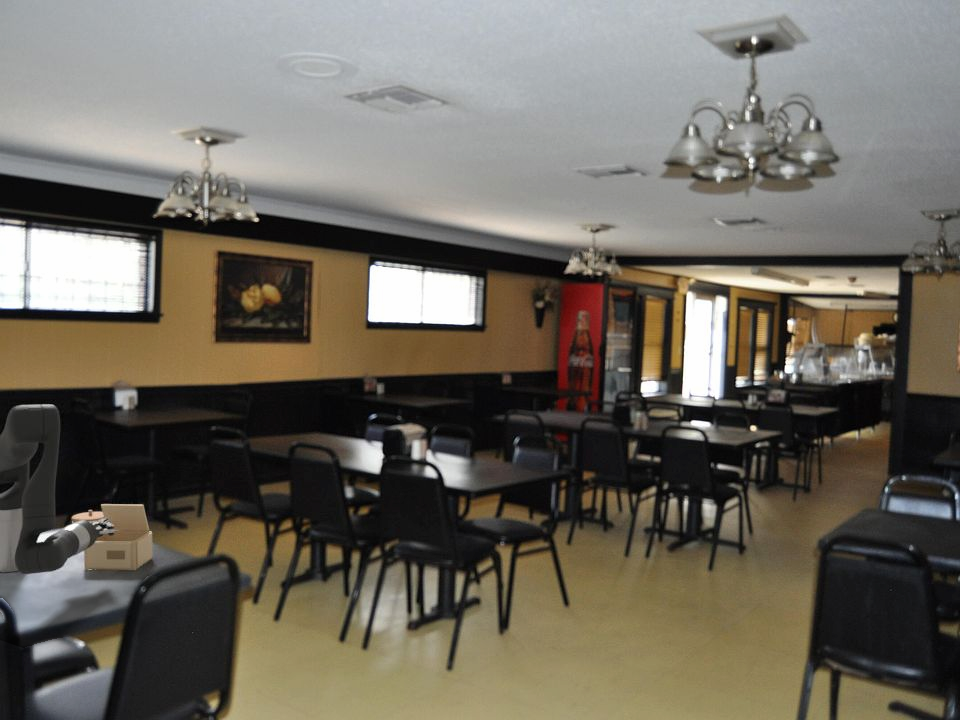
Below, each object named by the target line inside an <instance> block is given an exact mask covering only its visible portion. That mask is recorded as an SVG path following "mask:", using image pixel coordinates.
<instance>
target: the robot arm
mask: <svg viewBox="0 0 960 720" xmlns="http://www.w3.org/2000/svg"><path fill="white" fill-rule="evenodd" d="M60 434H61V417H60V411H59V409H58V408H57V406H56V405H54V404H49V403H48V404H46V403H44V404H20V405H16V406H13V407H12V408H11V409H10V411H9V412H8V414H7V417H6V422H5V425H4V428H3V431H2V433H1V434H0V484H7V483H8V484H9V483H14V484H13V485H12V487H10V488H9V489H8V490H5V491H3V492H2V493H0V573H12V572H19V573H21V574H24V575H31V574H41V573H49V572H54V571H57V570H60V569H62V568H63V567H64V565H65V563H67V561H68V559H70V558H72V557H75V556H77V555H79V554H80V553H83V552H84V550H86V549H87V548H89V547H91V546H92V545H93V544H94V543H95V541H96V539H97V538H98V537H101V536H103V534H105V533H106V535H110V536H113V535H114V531H115V530H114V525H112V524H111V523H110V522H109V520H108V519H105V518H102V519H100V520H98V521H93V522H88V521H85V520H79V521H76V522H74V523H72V522H71V523H70V524H68V525H67V524H66V526H64V527H63V528H62V527H61V529H59V530H58V531H57V532H54V533H53V534H50V535H49V536H48V537H47V538H46V539H44V541H39V542H38V539H39V538H40V535H41V534H43V533H45V532H48V531H50V530H52V529H54V528H55V527H56V522H57V521H56V517H57V516H56V481H57V480H56V478H57V470H58V460H59V451H60V450H59V447H60V436H61V435H60ZM39 443H40V444H42V443H43V444H44V446H43V447H44V448H43V452H42V453H43V454H42V457H41V460H40V462H39V464H38V466H37V468H36V469H35V471H34V473H33V475H32V476H31V477H30V460H32V458H33V457H34V456H35V454H36V453H37V450H38V447H39Z"/></svg>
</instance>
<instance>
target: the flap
mask: <svg viewBox="0 0 960 720" xmlns="http://www.w3.org/2000/svg"><path fill="white" fill-rule="evenodd" d="M100 506H101V507H100V508H101V512H103V515H104V518H105V519H108V520H109V522H110V523H111V524H112V525H114V531H150V528H149V523H148V519H147V514H146V510H145V506H144V504H141V503H140V504H133V503H131V504H129V503H128V504H126V503H125V504H124V503H123V504H119V503H118V504H117V503H116V504H115V503H113V504H112V503H103V504H102V503H101V504H100Z"/></svg>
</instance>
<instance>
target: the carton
mask: <svg viewBox="0 0 960 720" xmlns="http://www.w3.org/2000/svg"><path fill="white" fill-rule="evenodd" d="M152 559H153V532H152V530H149V531H148V530H114V535H113V536H110V535H106V533H105V534H103V536H101V537H98V538H97V539H96V541H95V543H94V544H93V545H92V546H91V547H89V548H87V549H86V550H84V551H83V561H84V570H85V569H92V570H91V571H118V570H135V571H136V569H137V568H138V569H139V568H140V566H141V567H142V566H144V565H145V564H146V563H148V562H149V561H150V560H152ZM143 564H144V565H143ZM95 569H96V570H95ZM138 569H137V570H138Z"/></svg>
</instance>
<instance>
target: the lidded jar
mask: <svg viewBox="0 0 960 720" xmlns="http://www.w3.org/2000/svg"><path fill="white" fill-rule="evenodd" d="M102 518H104V515H103V511H93V510H92V509H88V512H81V513H77V514H73V515H72V516H71V524H72V523H74V522H76V521H79V520H85V521H88V522H93V521H98V520H100V519H102Z"/></svg>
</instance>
